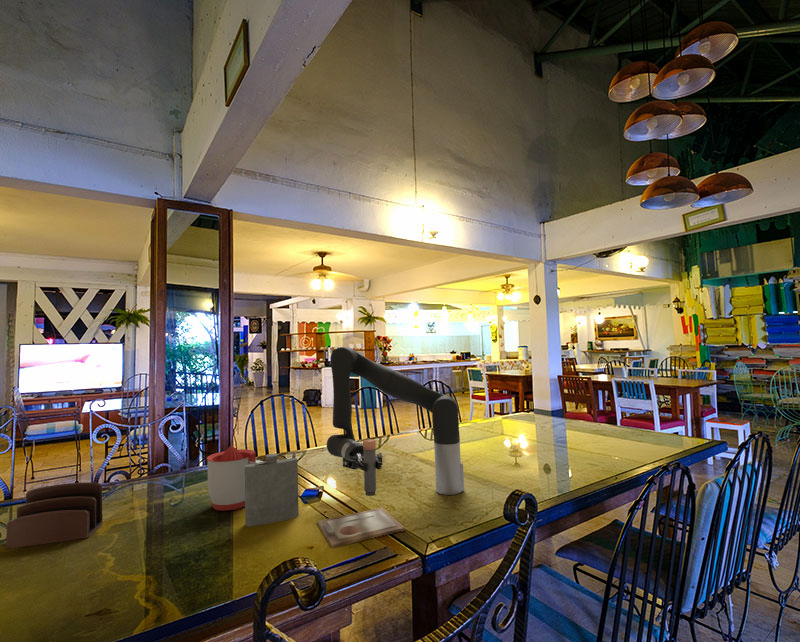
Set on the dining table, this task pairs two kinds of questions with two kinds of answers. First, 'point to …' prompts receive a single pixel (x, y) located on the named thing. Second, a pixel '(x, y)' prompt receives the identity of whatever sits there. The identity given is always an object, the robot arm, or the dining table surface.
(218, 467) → the citrus juicer
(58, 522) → the letter holder
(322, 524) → the clipboard
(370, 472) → the marker
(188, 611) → the dining table surface
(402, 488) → the dining table surface
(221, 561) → the dining table surface
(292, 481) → the hip flask
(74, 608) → the dining table surface
